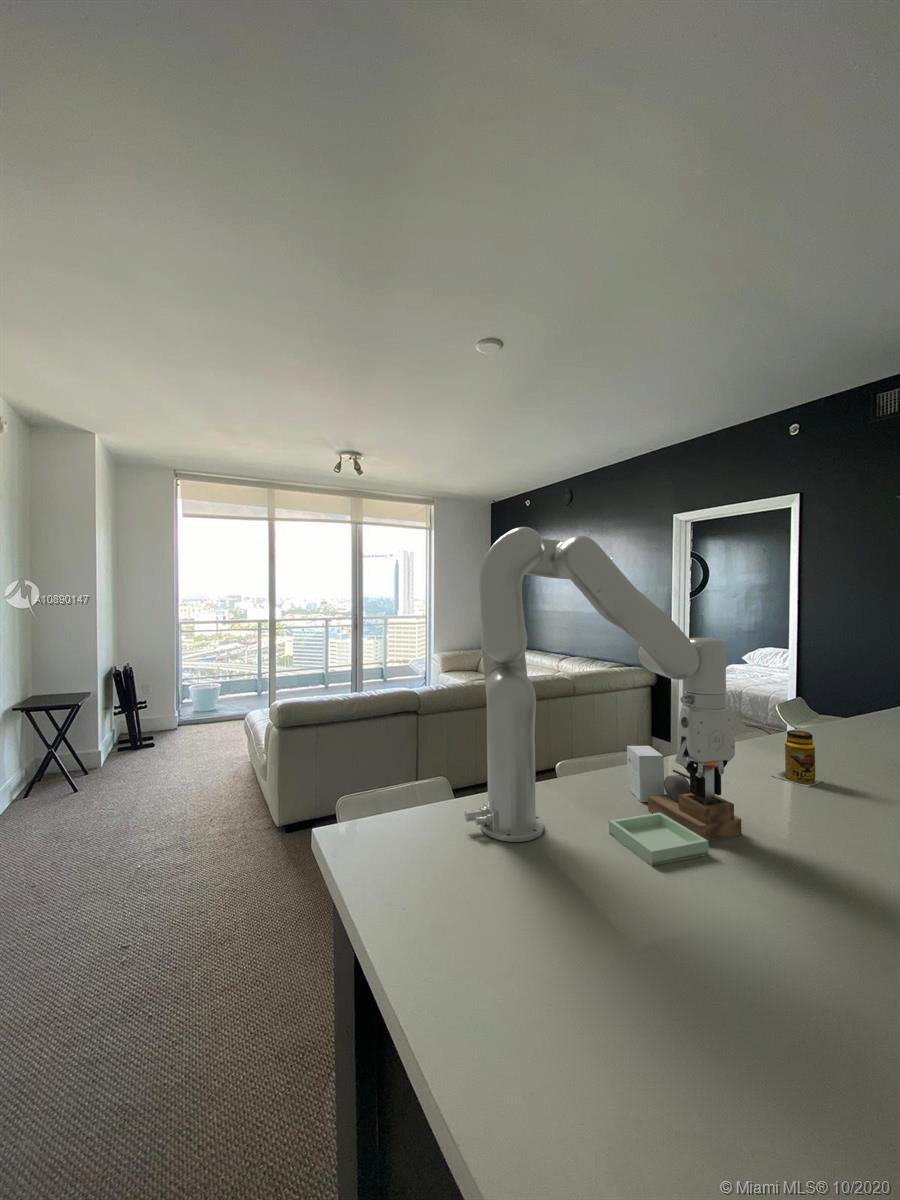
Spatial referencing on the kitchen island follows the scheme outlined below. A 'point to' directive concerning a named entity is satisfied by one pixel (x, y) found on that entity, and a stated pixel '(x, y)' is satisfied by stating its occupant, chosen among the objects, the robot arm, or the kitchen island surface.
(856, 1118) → the kitchen island surface
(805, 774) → the condiment
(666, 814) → the brown wooden stepped holder
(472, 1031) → the kitchen island surface
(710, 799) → the lock pin
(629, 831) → the tray
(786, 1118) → the kitchen island surface
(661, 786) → the small box
